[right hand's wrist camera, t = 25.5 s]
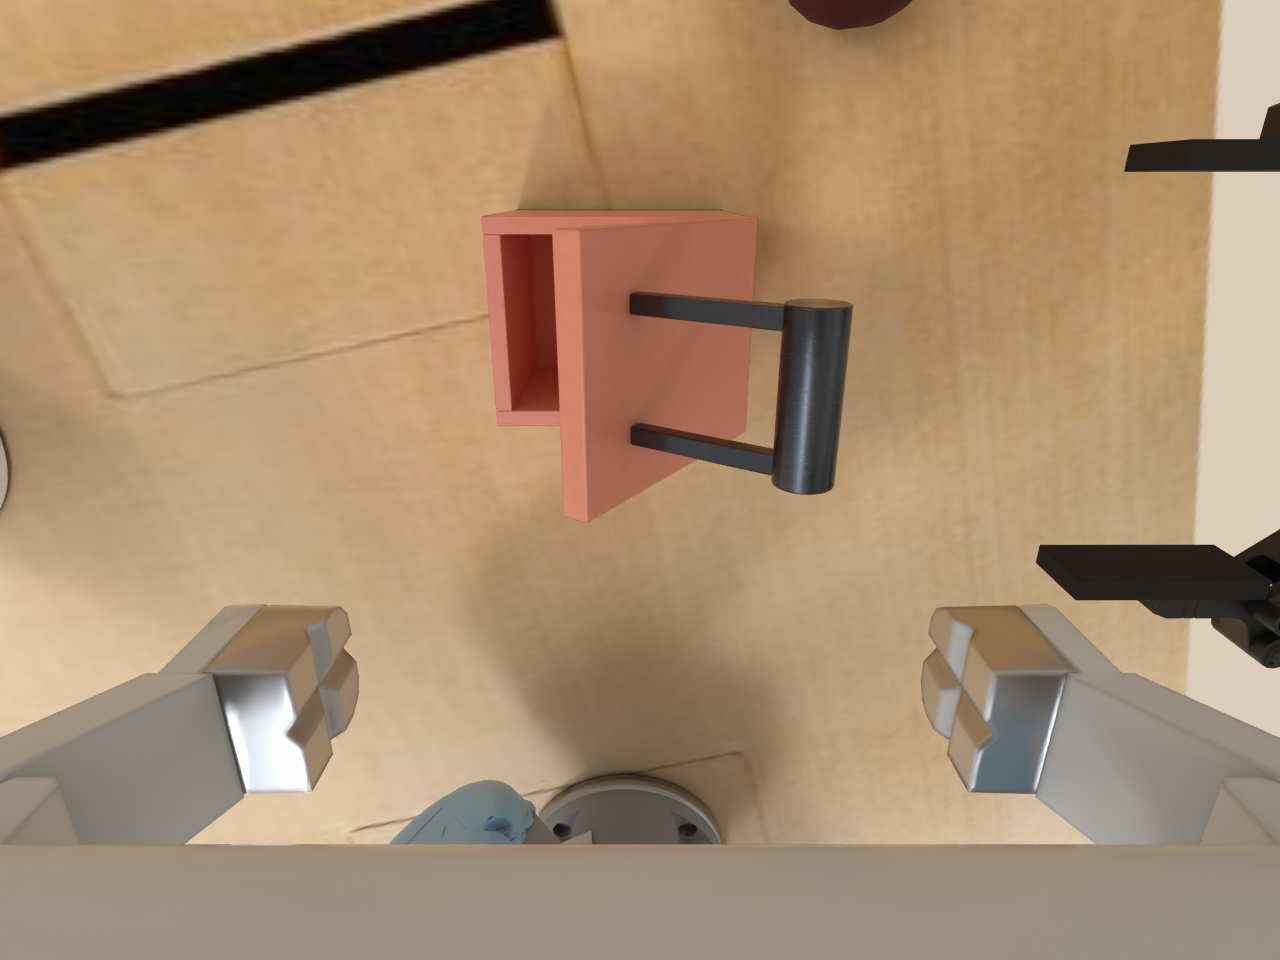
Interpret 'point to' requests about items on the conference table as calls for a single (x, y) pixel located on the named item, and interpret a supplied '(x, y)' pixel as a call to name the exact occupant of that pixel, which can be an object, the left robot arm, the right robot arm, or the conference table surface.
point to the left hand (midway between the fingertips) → (1099, 386)
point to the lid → (684, 361)
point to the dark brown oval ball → (848, 11)
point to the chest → (537, 303)
